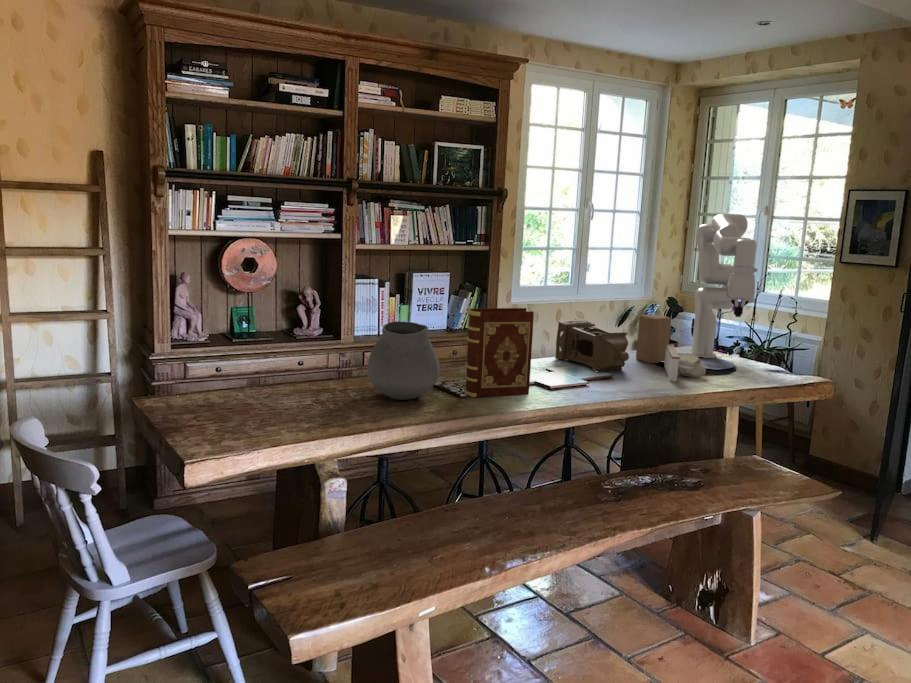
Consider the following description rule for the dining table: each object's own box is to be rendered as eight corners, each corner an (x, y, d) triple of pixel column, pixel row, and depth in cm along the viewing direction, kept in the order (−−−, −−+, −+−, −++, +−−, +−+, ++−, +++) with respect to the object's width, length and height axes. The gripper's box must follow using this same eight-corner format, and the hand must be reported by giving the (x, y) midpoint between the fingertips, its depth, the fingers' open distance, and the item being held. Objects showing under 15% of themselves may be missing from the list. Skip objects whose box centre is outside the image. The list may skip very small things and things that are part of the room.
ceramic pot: (357, 403, 243) (358, 328, 238) (378, 385, 266) (379, 316, 261) (430, 410, 238) (432, 334, 233) (444, 391, 262) (447, 321, 257)
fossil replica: (705, 381, 293) (702, 377, 303) (709, 360, 292) (706, 357, 302) (673, 375, 296) (672, 372, 305) (677, 355, 295) (676, 352, 304)
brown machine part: (638, 380, 300) (647, 336, 297) (606, 379, 290) (616, 333, 287) (581, 360, 329) (589, 319, 326) (551, 358, 319) (559, 316, 316)
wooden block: (634, 359, 327) (638, 314, 323) (652, 357, 331) (656, 313, 327) (649, 364, 318) (653, 318, 314) (667, 362, 322) (672, 317, 318)
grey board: (663, 366, 316) (665, 343, 314) (670, 366, 315) (673, 344, 313) (669, 380, 290) (671, 356, 288) (677, 381, 289) (679, 357, 287)
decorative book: (468, 397, 255) (472, 311, 249) (461, 391, 262) (465, 308, 256) (529, 395, 261) (534, 311, 255) (521, 389, 268) (525, 307, 262)
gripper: (761, 270, 294) (755, 316, 298) (721, 268, 296) (716, 313, 300) (765, 272, 287) (759, 319, 290) (724, 270, 289) (719, 316, 293)
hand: (737, 316), depth 295 cm, fingers closed
